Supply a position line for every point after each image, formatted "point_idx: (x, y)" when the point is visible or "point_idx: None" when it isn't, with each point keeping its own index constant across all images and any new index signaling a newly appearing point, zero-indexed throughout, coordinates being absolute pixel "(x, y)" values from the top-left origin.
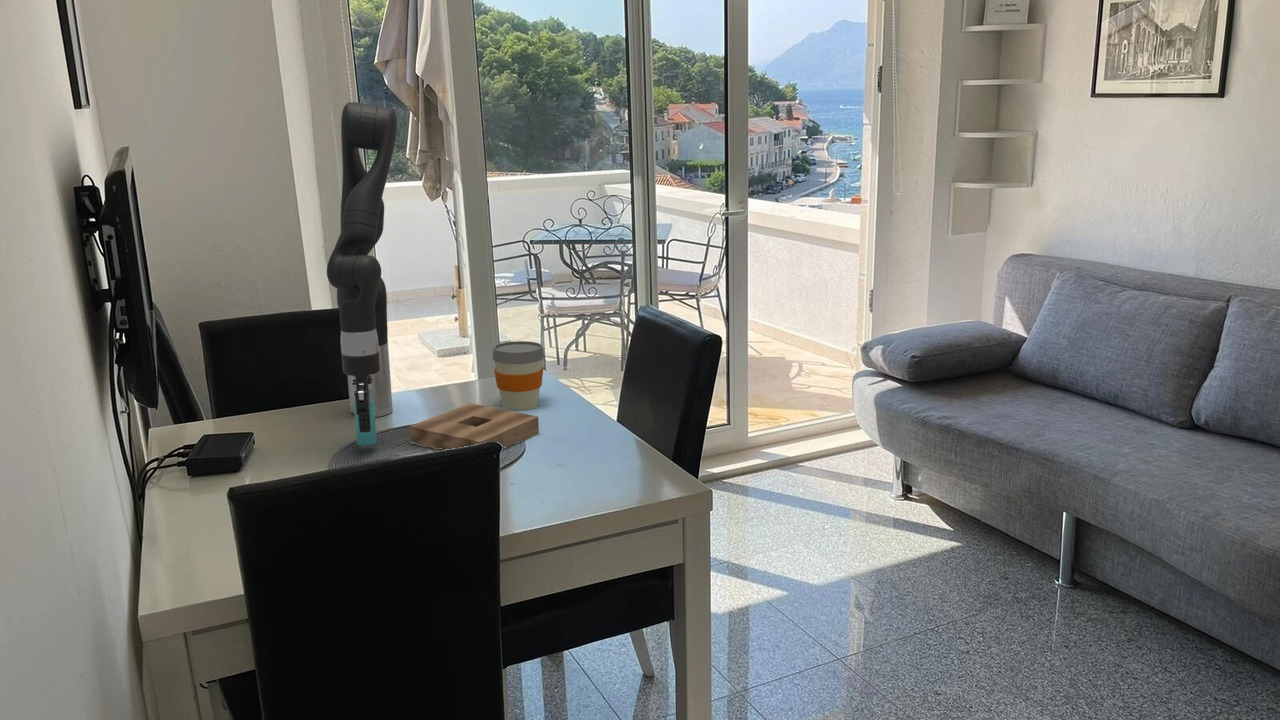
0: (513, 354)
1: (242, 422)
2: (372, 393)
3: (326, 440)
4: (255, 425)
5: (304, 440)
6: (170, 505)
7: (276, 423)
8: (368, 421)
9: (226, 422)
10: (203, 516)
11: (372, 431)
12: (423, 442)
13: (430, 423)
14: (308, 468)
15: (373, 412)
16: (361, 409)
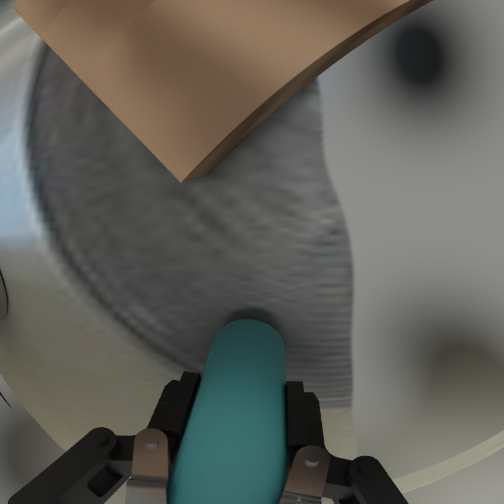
0: None
1: (71, 446)
2: (127, 490)
3: (139, 398)
4: None
5: (140, 425)
6: None
7: (64, 424)
8: (303, 420)
9: None
10: (435, 469)
11: (276, 366)
12: (261, 120)
13: (163, 72)
14: (334, 432)
15: (256, 431)
16: (353, 497)
